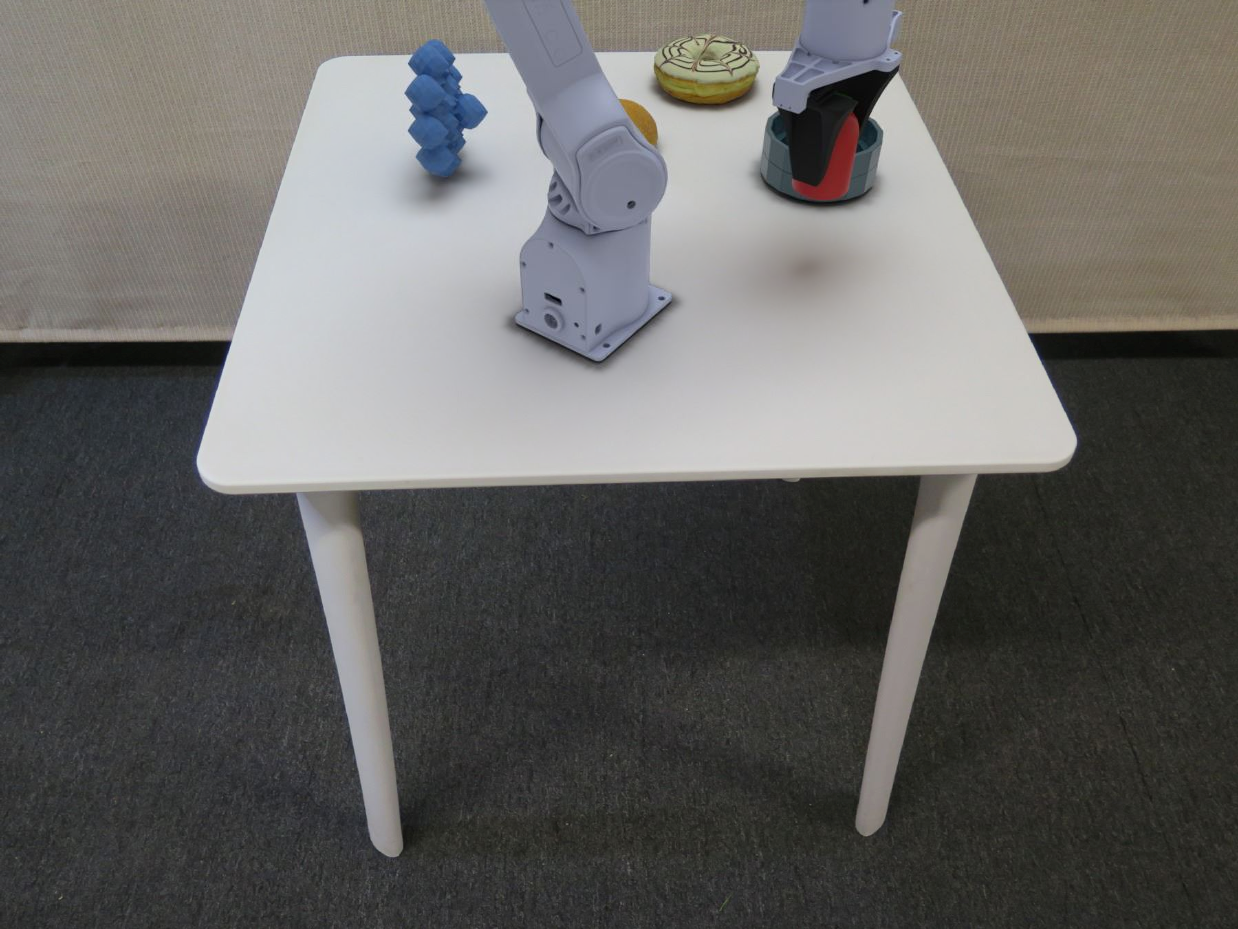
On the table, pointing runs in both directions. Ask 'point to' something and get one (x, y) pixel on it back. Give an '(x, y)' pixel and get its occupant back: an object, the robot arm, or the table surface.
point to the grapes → (440, 108)
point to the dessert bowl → (779, 166)
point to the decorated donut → (705, 68)
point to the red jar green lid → (836, 164)
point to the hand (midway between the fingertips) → (821, 167)
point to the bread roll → (641, 120)
